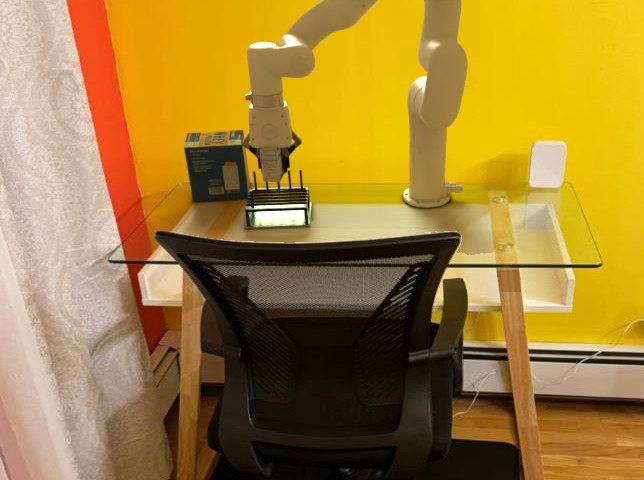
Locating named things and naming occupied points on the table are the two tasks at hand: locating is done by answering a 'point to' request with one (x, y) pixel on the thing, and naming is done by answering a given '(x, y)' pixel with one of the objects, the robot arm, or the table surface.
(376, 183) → the table surface
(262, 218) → the dish rack
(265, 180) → the medicine box
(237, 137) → the protein box
